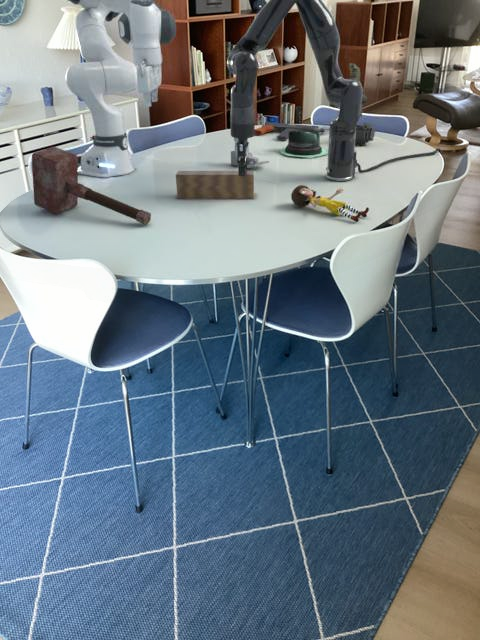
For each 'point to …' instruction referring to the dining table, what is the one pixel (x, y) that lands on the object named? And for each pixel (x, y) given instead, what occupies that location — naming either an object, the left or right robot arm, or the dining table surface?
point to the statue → (356, 76)
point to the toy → (364, 134)
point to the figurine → (324, 202)
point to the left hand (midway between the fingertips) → (151, 104)
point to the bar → (214, 185)
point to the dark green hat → (304, 143)
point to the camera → (250, 159)
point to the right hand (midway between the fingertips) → (242, 172)
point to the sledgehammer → (69, 186)
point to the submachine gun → (282, 129)
